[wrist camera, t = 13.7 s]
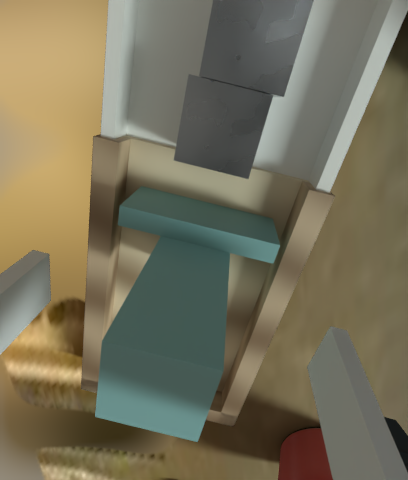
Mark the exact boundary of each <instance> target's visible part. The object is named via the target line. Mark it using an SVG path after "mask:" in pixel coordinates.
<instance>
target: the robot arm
mask: <svg viewBox="0 0 408 480" xmlns="http://www.w3.org/2000/svg"><path fill="white" fill-rule="evenodd" d="M49 262H50V261H49V254H47V253H43V252H39V251H35V250H32V251H31V252H30V253H28V254H27V255H26V256H24V257H23V258H21V259H20V260H19V261H17V262H16V263H15V264H13V265H12V266H11V267H9V268H8V269H7V270H5V271H4V272H3V273H1V274H0V354H1V353H2V352H3V351H4V350H5V349H6V348H7V347H8V346H9V345H10V344H11V343H12V342H13V341H14V339H15V338H16V337H17V336H18V335H19V334H20V333H21V332H22V331H23V330H24V329H25V328H26V327H27V326H28V324H29V323H30V322H31V321H32V320H33V319H34V318H35V317H36V316H37V315H38V314H39V313H40V312H41V311H42V309H43V308H44V307H45V306H46V305H47V304H48V303H49V302H50V301H51V291H50V263H49ZM307 368H308V372H309V377H310V381H311V385H312V390H313V394H314V399H315V403H316V408H317V412H318V416H319V421H320V425H321V430H322V434H323V438H324V443H325V447H326V452H327V456H328V461H329V465H330V469H331V474H332V478H333V480H408V436H407V434H406V433H405V432H404V430H403V429H402V428H401V426H400V425H399V424H398V423H397V421H396V420H393V419H389V418H386V417H384V416H383V414H382V411H381V409H380V407H379V404H378V402H377V400H376V397H375V395H374V393H373V390H372V388H371V386H370V383H369V381H368V379H367V376H366V374H365V372H364V369H363V367H362V365H361V362H360V360H359V358H358V355H357V353H356V351H355V348H354V346H353V344H352V341H351V339H350V337H349V334H348V332H347V330H343V329H339V328H335V327H331V326H330V328H329V330H328V331H327V333H326V335H325V337H324V338H323V340H322V342H321V344H320V346H319V347H318V349H317V351H316V353H315V354H314V356H313V358H312V360H311V361H310V363H309V365H308V367H307Z"/></svg>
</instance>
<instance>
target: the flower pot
mask: <svg viewBox="0 0 408 480" xmlns="http://www.w3.org/2000/svg"><path fill="white" fill-rule="evenodd" d="M278 480H333V478H332V474H331V469H330V465H329V461H328V456H327V452H326V447H325V443H324V438H323V434H322V430H321V428H309V429H303V430H300V431H297V432H295V433H292V434H291V435H289V436H288V437H287V438H286V439H285V441H283V443H282V445H281V450H280V464H279V475H278Z"/></svg>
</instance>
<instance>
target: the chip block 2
mask: <svg viewBox="0 0 408 480" xmlns="http://www.w3.org/2000/svg"><path fill="white" fill-rule="evenodd" d="M272 98H273V95H270V94H266V93H262V92H258V91H254V90H250V89H246V88H242V87H238V86H234V85H230V84H226V83H222V82H218V81H214V80H210V79H206V78H202V77H198V76H194V75H191V74H189V75H188V81H187V86H186V92H185V98H184V104H183V109H182V115H181V121H180V126H179V132H178V138H177V144H176V149H175V155H174V161H178V162H182V163H186V164H190V165H194V166H198V167H202V168H206V169H210V170H214V171H218V172H222V173H226V174H230V175H233V176H237V177H241V178H245V179H249V176H250V172H251V169H252V166H253V162H254V159H255V156H256V152H257V149H258V145H259V142H260V139H261V135H262V132H263V129H264V125H265V122H266V119H267V115H268V112H269V108H270V105H271V102H272Z"/></svg>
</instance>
